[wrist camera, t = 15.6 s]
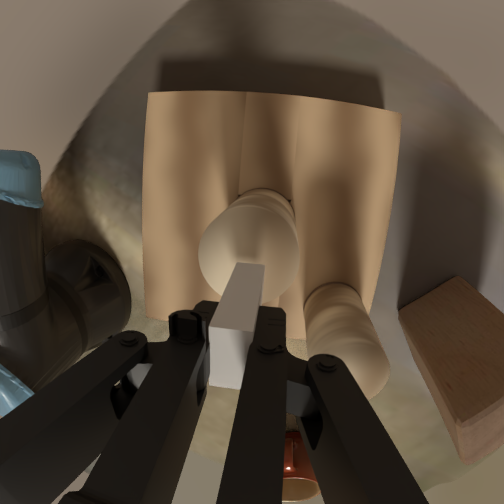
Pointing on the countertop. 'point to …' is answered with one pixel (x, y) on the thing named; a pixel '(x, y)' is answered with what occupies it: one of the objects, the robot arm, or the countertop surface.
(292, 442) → the mug
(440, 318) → the block
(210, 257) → the peg
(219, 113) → the seat board
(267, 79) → the countertop surface
